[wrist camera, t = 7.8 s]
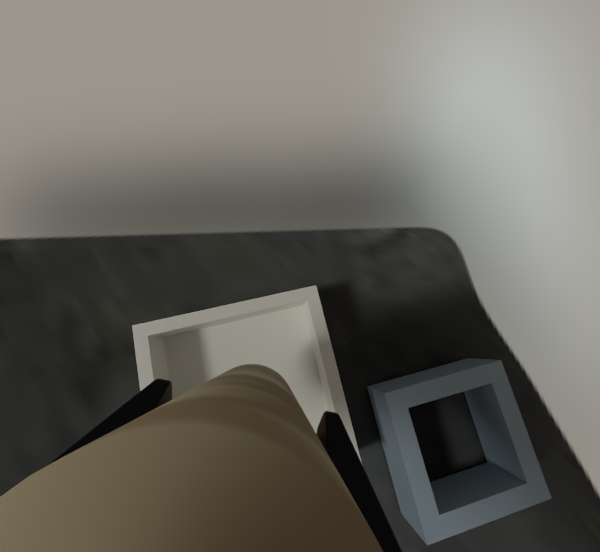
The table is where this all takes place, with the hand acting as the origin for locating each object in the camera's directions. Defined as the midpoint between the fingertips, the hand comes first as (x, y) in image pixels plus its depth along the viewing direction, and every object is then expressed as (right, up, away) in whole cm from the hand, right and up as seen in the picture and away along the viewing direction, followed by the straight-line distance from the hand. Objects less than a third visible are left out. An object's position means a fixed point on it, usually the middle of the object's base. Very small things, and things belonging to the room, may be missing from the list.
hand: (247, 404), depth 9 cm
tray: (-2, -4, +13) cm, 14 cm away
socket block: (+11, -8, +13) cm, 19 cm away
